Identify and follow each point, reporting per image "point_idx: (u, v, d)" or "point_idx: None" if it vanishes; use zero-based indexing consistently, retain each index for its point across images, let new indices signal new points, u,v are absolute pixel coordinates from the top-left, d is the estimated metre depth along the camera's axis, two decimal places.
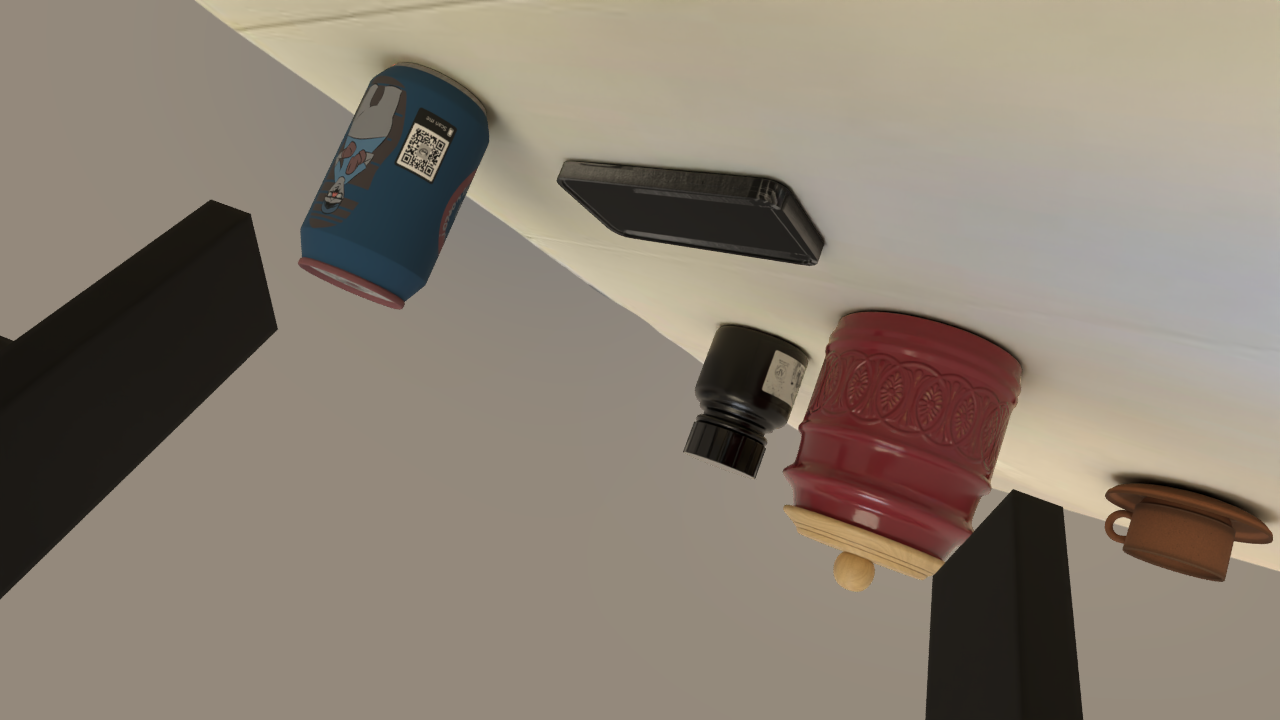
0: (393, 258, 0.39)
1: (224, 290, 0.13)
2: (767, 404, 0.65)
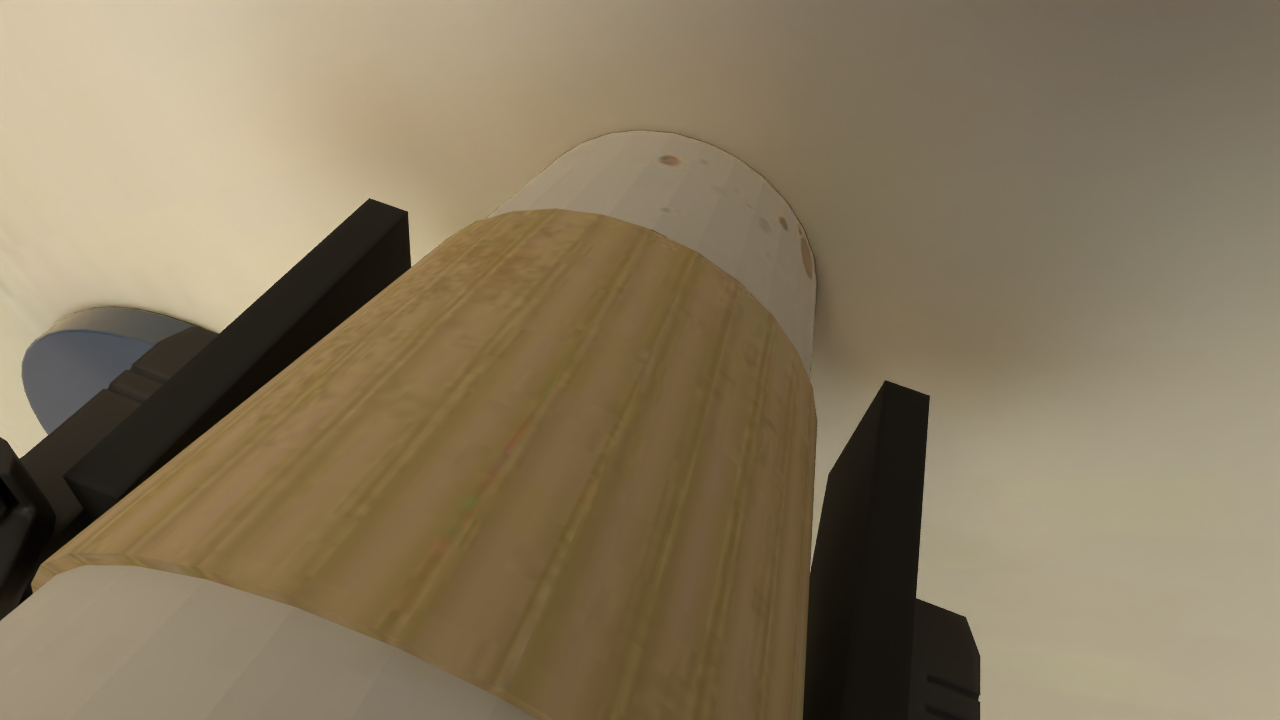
0: None
1: (382, 284, 0.13)
2: None
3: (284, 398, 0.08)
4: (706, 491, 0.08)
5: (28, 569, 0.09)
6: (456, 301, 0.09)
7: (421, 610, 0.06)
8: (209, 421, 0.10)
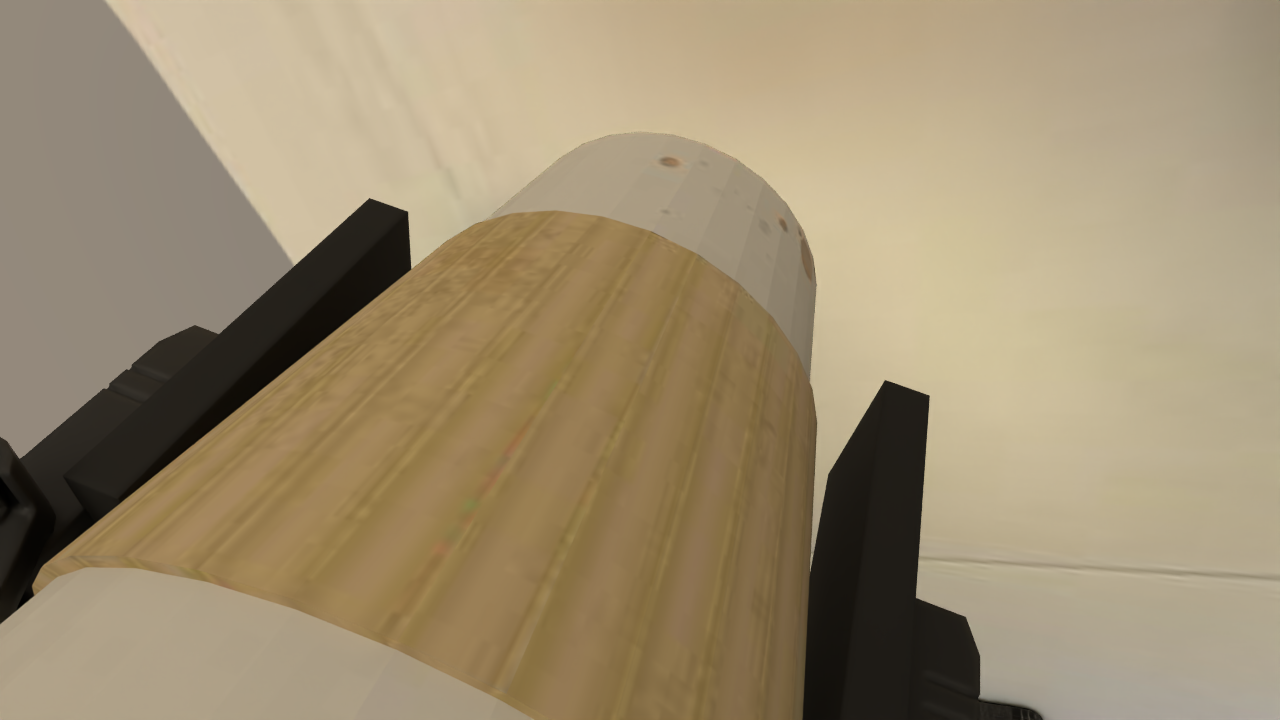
0: None
1: (382, 284, 0.13)
2: None
3: (285, 400, 0.08)
4: (706, 493, 0.08)
5: (27, 570, 0.09)
6: (455, 304, 0.09)
7: (421, 613, 0.06)
8: (209, 421, 0.10)
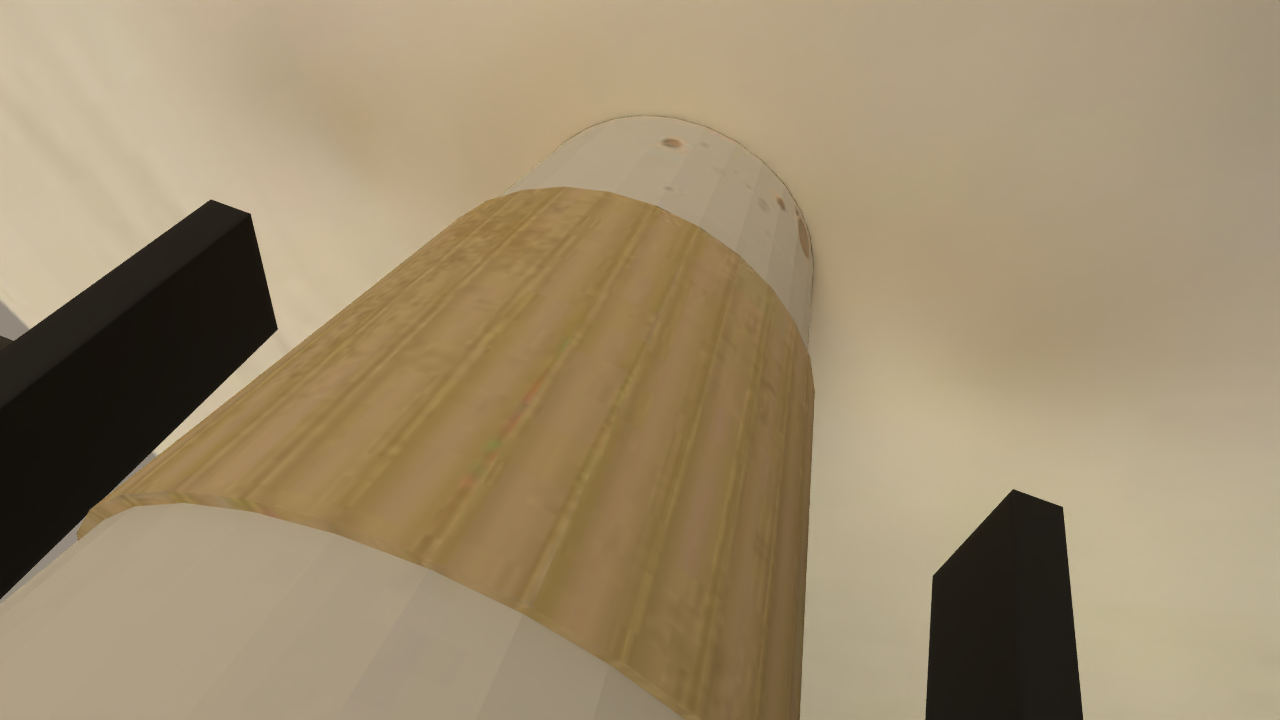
0: None
1: (224, 290, 0.13)
2: None
3: (313, 357, 0.08)
4: (710, 443, 0.08)
5: None
6: (472, 270, 0.09)
7: (452, 536, 0.06)
8: None
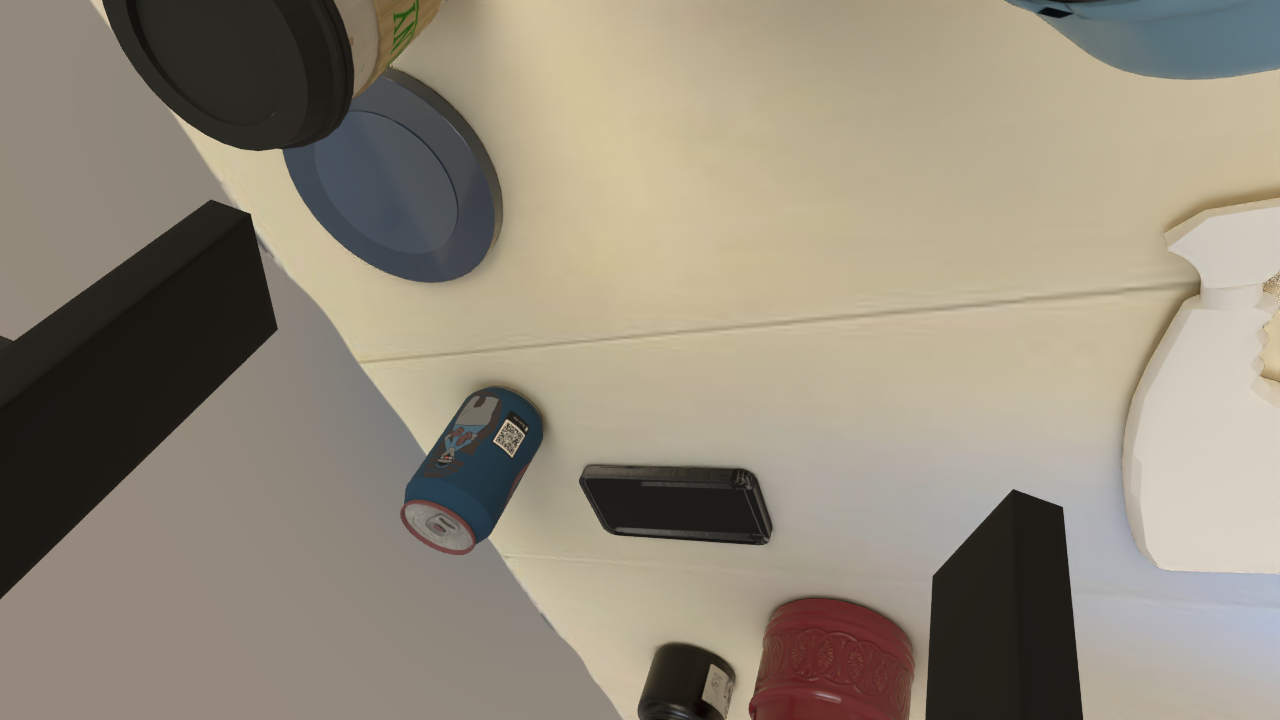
0: (483, 504, 0.53)
1: (224, 290, 0.13)
2: (707, 713, 0.74)
3: None
4: None
5: None
6: None
7: None
8: None
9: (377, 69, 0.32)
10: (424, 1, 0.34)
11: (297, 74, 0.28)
